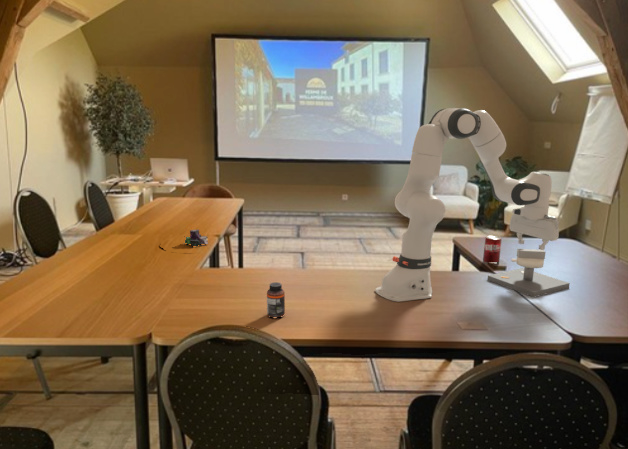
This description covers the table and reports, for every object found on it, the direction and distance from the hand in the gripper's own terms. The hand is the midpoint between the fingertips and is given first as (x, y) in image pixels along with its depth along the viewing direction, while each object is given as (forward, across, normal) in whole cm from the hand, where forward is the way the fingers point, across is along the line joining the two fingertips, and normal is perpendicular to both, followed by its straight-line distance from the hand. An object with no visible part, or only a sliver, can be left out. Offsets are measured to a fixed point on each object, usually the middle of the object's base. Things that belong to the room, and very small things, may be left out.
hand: (531, 246), depth 194 cm
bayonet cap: (+8, 0, 0) cm, 8 cm away
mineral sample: (+19, +122, +103) cm, 161 cm away
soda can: (+16, +28, -12) cm, 34 cm away
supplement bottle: (+18, +19, +104) cm, 108 cm away
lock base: (+16, 0, -1) cm, 16 cm away
